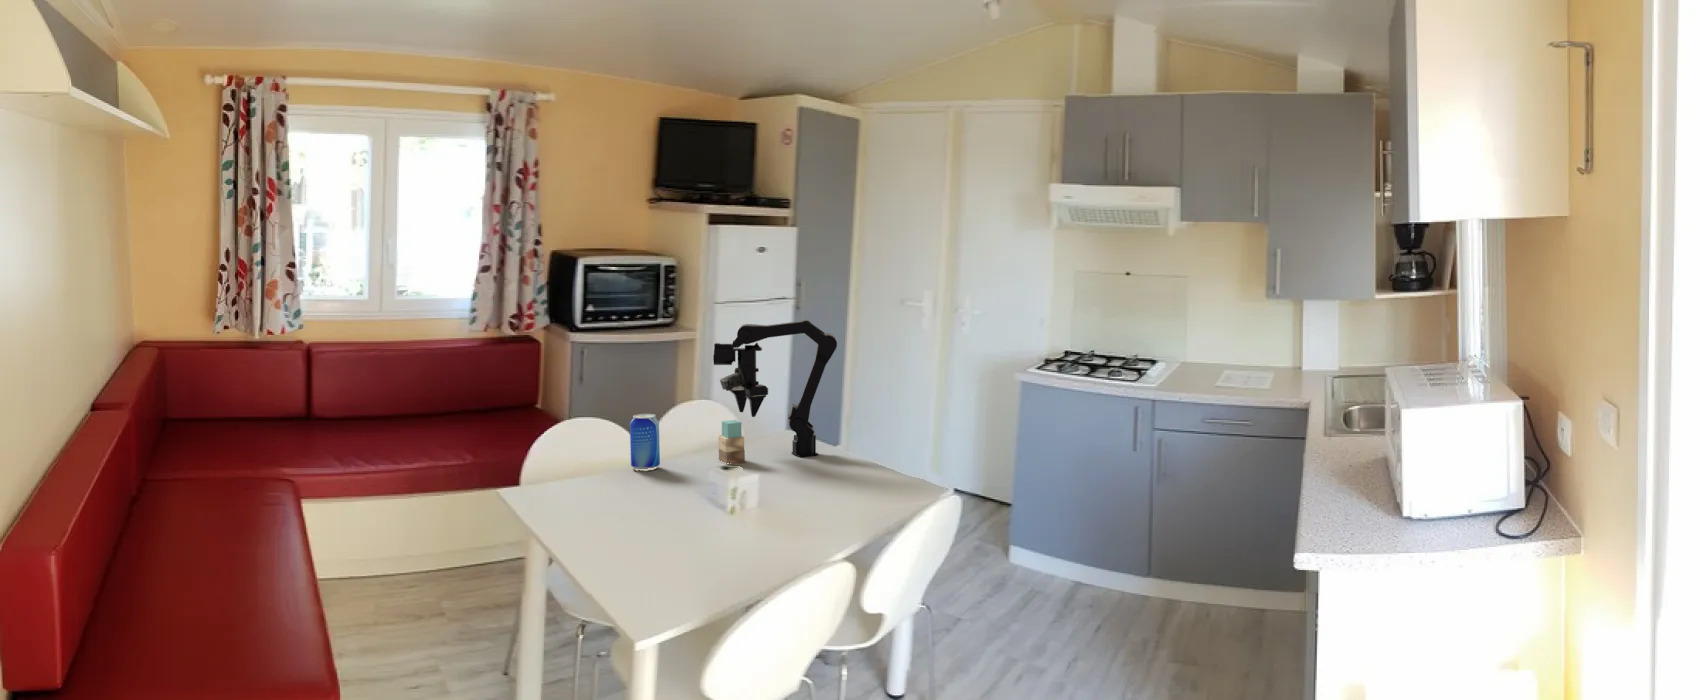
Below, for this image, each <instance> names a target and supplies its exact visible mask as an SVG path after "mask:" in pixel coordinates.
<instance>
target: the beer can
mask: <svg viewBox="0 0 1700 700" xmlns="http://www.w3.org/2000/svg"><path fill="white" fill-rule="evenodd" d="M656 416H657V415H656V414H654V413H639V414H633V416H632V417H633V418H632V419H631V421H630V422H629V435H630V436H629V439H630V441H629V442H630V443H629V444H630V466H631V467H632V470H634V469H648V468H654V467H657V466H658V467H659V466H660V464H661V461H660V460H661V458H660V457H661V456H660V453H661V452H660V451H661V449H660V422H659V420H658V419H657V417H656Z"/></svg>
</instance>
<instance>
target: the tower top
mask: <svg viewBox="0 0 1700 700" xmlns="http://www.w3.org/2000/svg"><path fill="white" fill-rule="evenodd" d="M717 436H718V437H717V438H718V441H717V442H718V450H719V449H721V450H723V451H724V452H732V451H741V450H745V437H744V436H742V437H737V438H726V437H723V436H722V434H721V435H719V434H718V435H717Z"/></svg>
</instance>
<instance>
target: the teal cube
mask: <svg viewBox="0 0 1700 700" xmlns="http://www.w3.org/2000/svg"><path fill="white" fill-rule="evenodd" d="M721 435H722V436H723V437H726V438H737V437H743V435H742V421H740V420H736V419H731V420H722V421H721Z"/></svg>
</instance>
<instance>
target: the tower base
mask: <svg viewBox="0 0 1700 700" xmlns="http://www.w3.org/2000/svg"><path fill="white" fill-rule="evenodd" d="M745 452H746V450H745V449H744V450H741V451H732V452H724V451H723V450H721V449H719V448H718V461H719V460H720V461H722V462H724V463H726V464H727V463H729V464H730V463H733V464H732V465H736V464H737V463H738V464H745V461H746V458H745V457H746V455H745ZM720 461H719V462H720ZM722 462H721V463H722ZM724 463H723V464H724ZM726 464H725V465H726ZM730 465H731V464H730Z"/></svg>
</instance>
